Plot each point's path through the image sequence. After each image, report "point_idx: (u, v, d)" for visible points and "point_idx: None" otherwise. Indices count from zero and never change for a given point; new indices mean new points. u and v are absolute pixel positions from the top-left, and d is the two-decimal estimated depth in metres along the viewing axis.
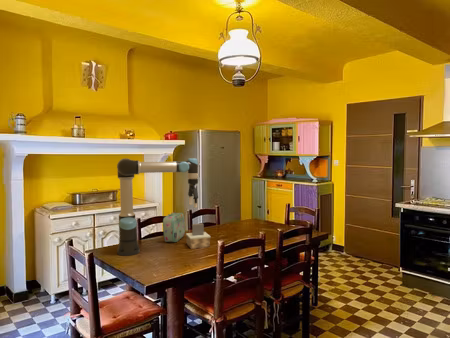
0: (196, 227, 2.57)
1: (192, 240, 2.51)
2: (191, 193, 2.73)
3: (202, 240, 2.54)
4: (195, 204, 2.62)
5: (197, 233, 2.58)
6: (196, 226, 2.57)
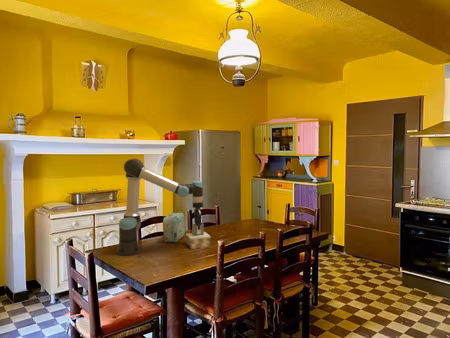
0: (196, 227, 2.57)
1: (192, 240, 2.51)
2: (197, 219, 2.61)
3: (202, 240, 2.54)
4: (198, 231, 2.57)
5: None
6: (196, 226, 2.57)
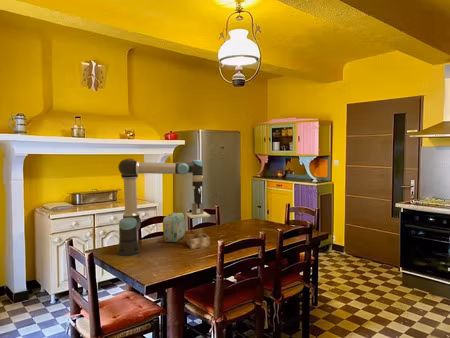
0: None
1: (192, 240, 2.51)
2: (197, 198, 2.60)
3: (202, 240, 2.54)
4: (198, 209, 2.56)
5: None
6: None
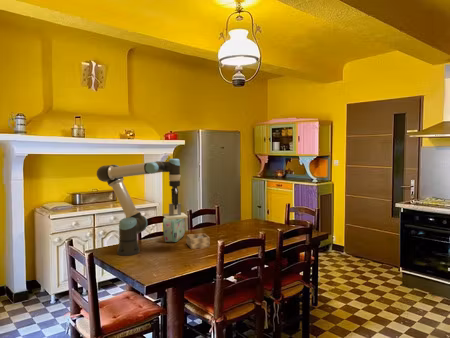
0: None
1: (192, 240, 2.51)
2: None
3: (202, 240, 2.54)
4: (175, 210, 2.46)
5: None
6: None
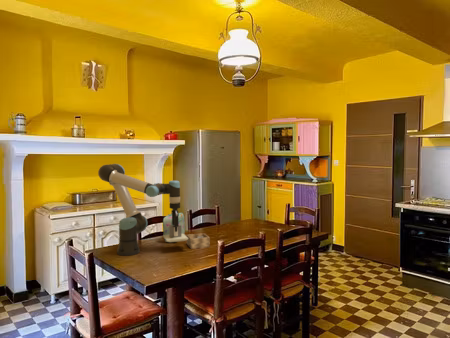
0: (173, 229, 2.47)
1: (192, 240, 2.51)
2: None
3: (202, 240, 2.54)
4: (175, 232, 2.47)
5: None
6: (173, 228, 2.47)
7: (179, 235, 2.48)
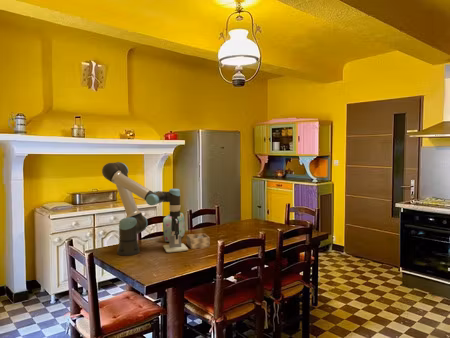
0: (173, 239, 2.47)
1: (192, 240, 2.51)
2: (174, 227, 2.52)
3: (202, 240, 2.54)
4: (176, 240, 2.44)
5: (174, 245, 2.48)
6: (173, 238, 2.47)
7: (179, 245, 2.49)
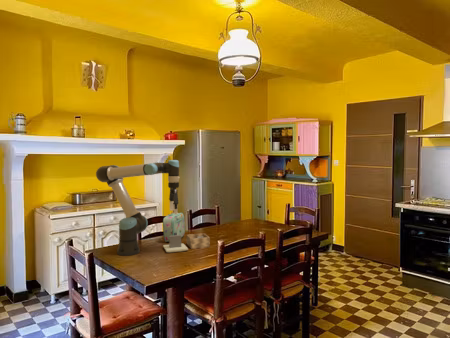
0: (173, 239, 2.47)
1: (192, 240, 2.51)
2: (172, 198, 2.52)
3: (202, 240, 2.54)
4: (175, 210, 2.41)
5: (174, 245, 2.48)
6: (173, 238, 2.47)
7: (179, 245, 2.49)
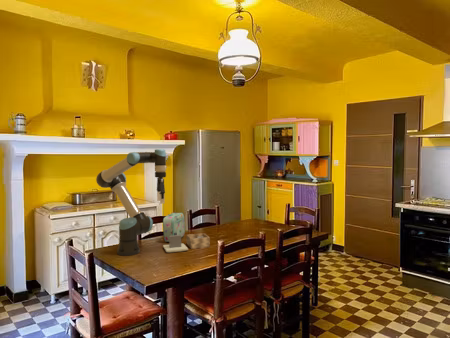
0: (173, 239, 2.47)
1: (192, 240, 2.51)
2: (159, 188, 2.48)
3: (202, 240, 2.54)
4: (162, 200, 2.36)
5: (174, 245, 2.48)
6: (173, 238, 2.47)
7: (179, 245, 2.49)
